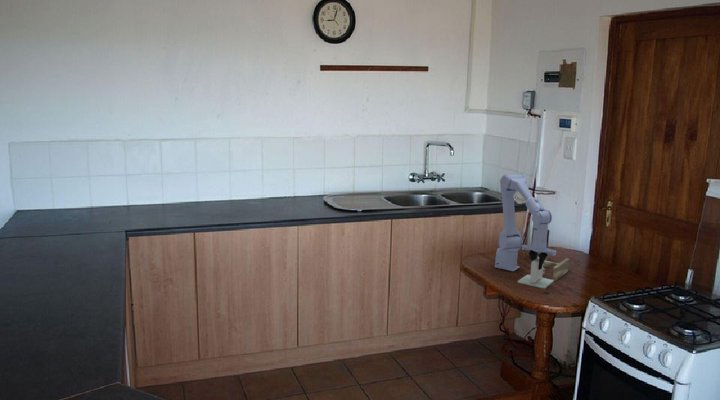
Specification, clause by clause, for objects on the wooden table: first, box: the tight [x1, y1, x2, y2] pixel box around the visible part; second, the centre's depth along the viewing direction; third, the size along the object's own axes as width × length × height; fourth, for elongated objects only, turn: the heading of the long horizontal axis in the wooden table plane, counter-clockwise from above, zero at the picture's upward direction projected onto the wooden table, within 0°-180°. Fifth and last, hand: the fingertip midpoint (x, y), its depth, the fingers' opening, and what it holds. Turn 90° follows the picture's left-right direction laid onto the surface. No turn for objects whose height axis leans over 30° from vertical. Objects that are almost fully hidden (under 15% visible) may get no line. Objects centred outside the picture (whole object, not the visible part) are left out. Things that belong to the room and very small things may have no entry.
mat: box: [517, 274, 555, 289], centre depth 264 cm, size 12×12×1 cm
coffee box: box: [530, 226, 550, 261], centre depth 296 cm, size 9×6×16 cm
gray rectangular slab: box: [529, 257, 544, 283], centre depth 263 cm, size 2×10×9 cm, turn 144°
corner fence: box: [543, 257, 570, 282], centre depth 277 cm, size 14×19×6 cm
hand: (537, 268), depth 263 cm, fingers closed on gray rectangular slab, 2 cm apart
